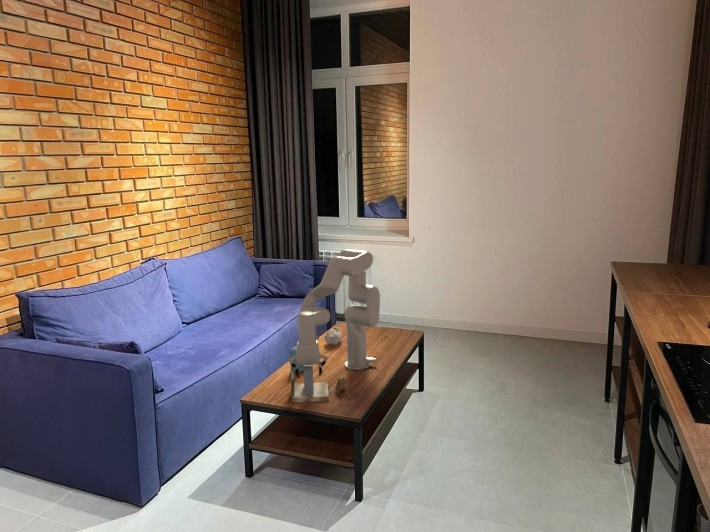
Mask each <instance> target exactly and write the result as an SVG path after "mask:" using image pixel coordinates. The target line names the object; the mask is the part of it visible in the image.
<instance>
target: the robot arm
mask: <svg viewBox="0 0 710 532" xmlns="http://www.w3.org/2000/svg"><path fill="white" fill-rule="evenodd" d="M373 263H374V257H373V254H372V253H371V252H369V251H367V250H359V249H349V248H348V249H347V248H345V249H341V250H340V251H339V255H337V256H333V257H332V258H331V259H330V260H329V263H328V264H327V267H326V270H325V271H324V275H323V277H322V279H321V282H320V283H319V284H318V285H317V286H316V287H314V288H312V290H311V291H309V292H308V294H306V296H305V297H304V299H303V301H302V304H301V306H300V309H299V313H298V314H297V331H298V341H297V343H296V346H297V355H295V356H293V357H291V358H290V357H289V358H288V363H289V364H290V367H291V366H292V367H294V368H295V370H296V372H295V376H296V377H297V379H299V378H300V373H299V366H300V365H317V366H318V377H321V376H322V374H323V367H324V366H325V365H326V364H327V361H328V360H329V357H328V356H327V355H325V354H322V353H320V346H319V341H318V340H320V336H319V335H316V334H317V332H316V330H317V329H316V327H319V326H325V325H326V324H327V323H329V321H330V319H331V312H330V310H328V309H327V308H324V307H319V306H315V305H316V303H317V302H318V301H319V300H320V299H322V298H325V297H328V296H330V295H333V294H335V293H337V292H338V291H339V288H340V285H341V283H342V281H343V279H344V276H348V289H347V290H348V299H349V301H351V302H352V303H356V304H349V305H348V306H347V307H346V308H345V310H344V320H345V324H346V336H347V337H346V340H347V341H346V346H347V349H346V350H347V361H345V362H344V367H345V368H346V369H347V370H350V371H351V370H352V371H363V370H366V369H368V368H369V367H370V365H371V364H370V363H377V362H376V361H377V359H376V358H374V357H372V356H370V357H368V355H367V331H366V327H368V328H373V327H376V326H377V325H378V323H379V322H380V311H381V310H380V308H381V307H380V305H381V304H380V303H381V293H380V290H379V288H378V287H377V286H375V285H372V284H367V273H366V271H367V270H368V269H370V268H371V266H372V264H373ZM360 304H362V305H360ZM295 359H297V363H296V364H295V363H294V362H293V360H295ZM321 359H323V360H322V361H321Z"/></svg>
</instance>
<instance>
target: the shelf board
mask: <svg viewBox="0 0 710 532" xmlns="http://www.w3.org/2000/svg"><path fill="white" fill-rule="evenodd" d="M290 375H291V376H290V377H291V378H290V382H291V384H290V385H291V403H292V404H294V403H308V402H309V403H310V402H311V403H312V402H325V401H326V402H327V401H330V396H329V395H330V393H329V388H328V387H329V386H328V381H324V382H323V381H322V382H321V381H320V382H313V386H314V395H305V392H304V383H295V372H293V371H291V374H290Z"/></svg>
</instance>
